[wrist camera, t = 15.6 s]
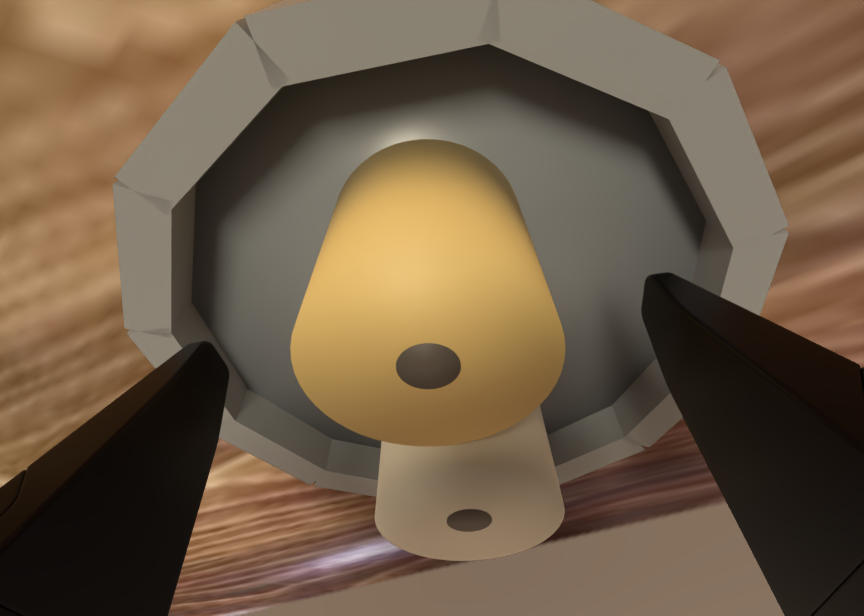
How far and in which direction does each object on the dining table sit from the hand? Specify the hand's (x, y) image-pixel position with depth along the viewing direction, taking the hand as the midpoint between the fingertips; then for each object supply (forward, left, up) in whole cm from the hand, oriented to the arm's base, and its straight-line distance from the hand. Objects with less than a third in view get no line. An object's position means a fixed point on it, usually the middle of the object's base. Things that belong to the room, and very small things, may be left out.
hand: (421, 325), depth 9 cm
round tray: (0, +3, -5) cm, 6 cm away
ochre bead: (0, 0, -4) cm, 4 cm away
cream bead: (0, +6, -4) cm, 7 cm away
